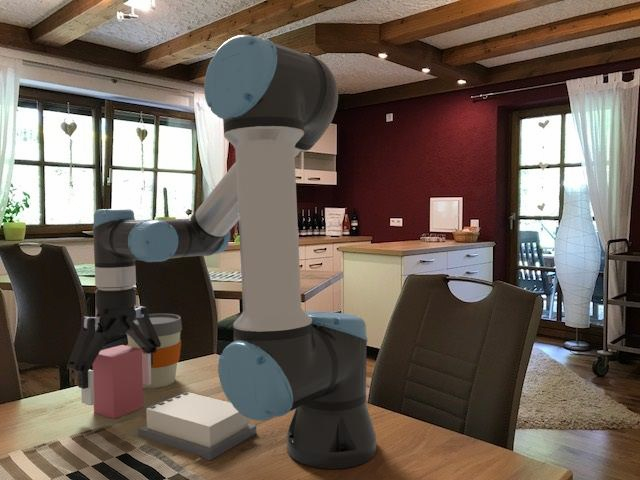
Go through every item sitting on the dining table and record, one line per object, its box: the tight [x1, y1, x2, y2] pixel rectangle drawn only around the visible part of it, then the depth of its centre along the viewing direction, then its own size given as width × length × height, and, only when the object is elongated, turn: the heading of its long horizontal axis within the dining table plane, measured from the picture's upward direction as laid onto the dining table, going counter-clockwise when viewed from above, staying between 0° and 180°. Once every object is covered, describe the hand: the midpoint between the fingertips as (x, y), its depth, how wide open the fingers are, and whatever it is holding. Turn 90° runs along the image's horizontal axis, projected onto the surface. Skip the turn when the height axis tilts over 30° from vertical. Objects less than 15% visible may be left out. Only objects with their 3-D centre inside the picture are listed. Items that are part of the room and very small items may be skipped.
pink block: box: [92, 344, 144, 420], centre depth 107 cm, size 6×7×12 cm
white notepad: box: [138, 391, 257, 461], centre depth 96 cm, size 17×12×5 cm
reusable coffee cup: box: [125, 313, 183, 389], centre depth 125 cm, size 13×13×15 cm
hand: (118, 393), depth 107 cm, fingers open, 13 cm apart
